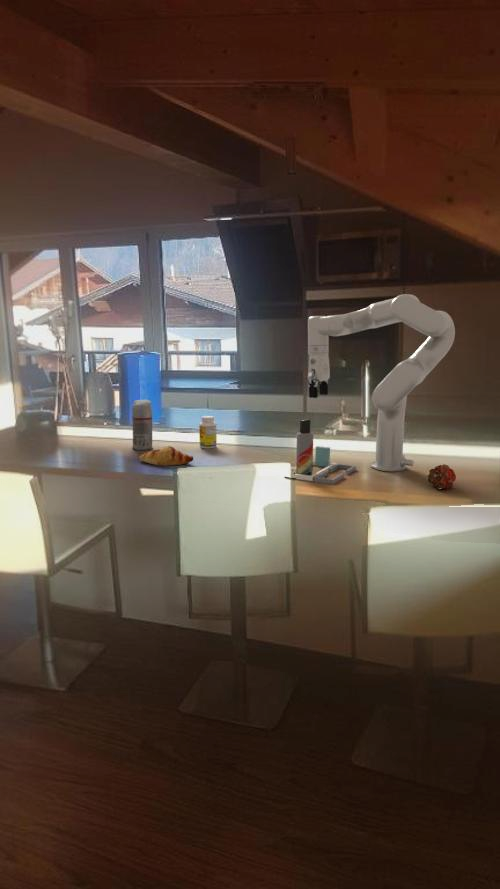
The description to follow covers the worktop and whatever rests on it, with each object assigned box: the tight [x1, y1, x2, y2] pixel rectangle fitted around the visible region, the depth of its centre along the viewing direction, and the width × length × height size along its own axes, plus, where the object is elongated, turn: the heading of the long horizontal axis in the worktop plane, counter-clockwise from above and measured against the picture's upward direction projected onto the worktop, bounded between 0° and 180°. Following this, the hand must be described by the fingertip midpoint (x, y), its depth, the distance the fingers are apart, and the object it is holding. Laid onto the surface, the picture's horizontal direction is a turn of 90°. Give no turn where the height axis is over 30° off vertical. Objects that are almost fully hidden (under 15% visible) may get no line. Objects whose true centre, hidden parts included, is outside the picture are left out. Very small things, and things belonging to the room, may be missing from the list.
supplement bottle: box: [199, 415, 217, 450], centre depth 277 cm, size 7×7×13 cm
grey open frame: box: [313, 463, 357, 485], centre depth 234 cm, size 7×22×2 cm, turn 152°
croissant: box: [139, 445, 194, 467], centre depth 251 cm, size 21×10×8 cm
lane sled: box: [294, 445, 337, 482], centre depth 237 cm, size 10×22×7 cm, turn 152°
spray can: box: [131, 398, 153, 451], centre depth 274 cm, size 8×8×20 cm
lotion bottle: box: [295, 418, 314, 476], centre depth 231 cm, size 6×6×20 cm
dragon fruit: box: [427, 463, 457, 489], centre depth 218 cm, size 8×8×12 cm
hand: (318, 396), depth 251 cm, fingers open, 9 cm apart
